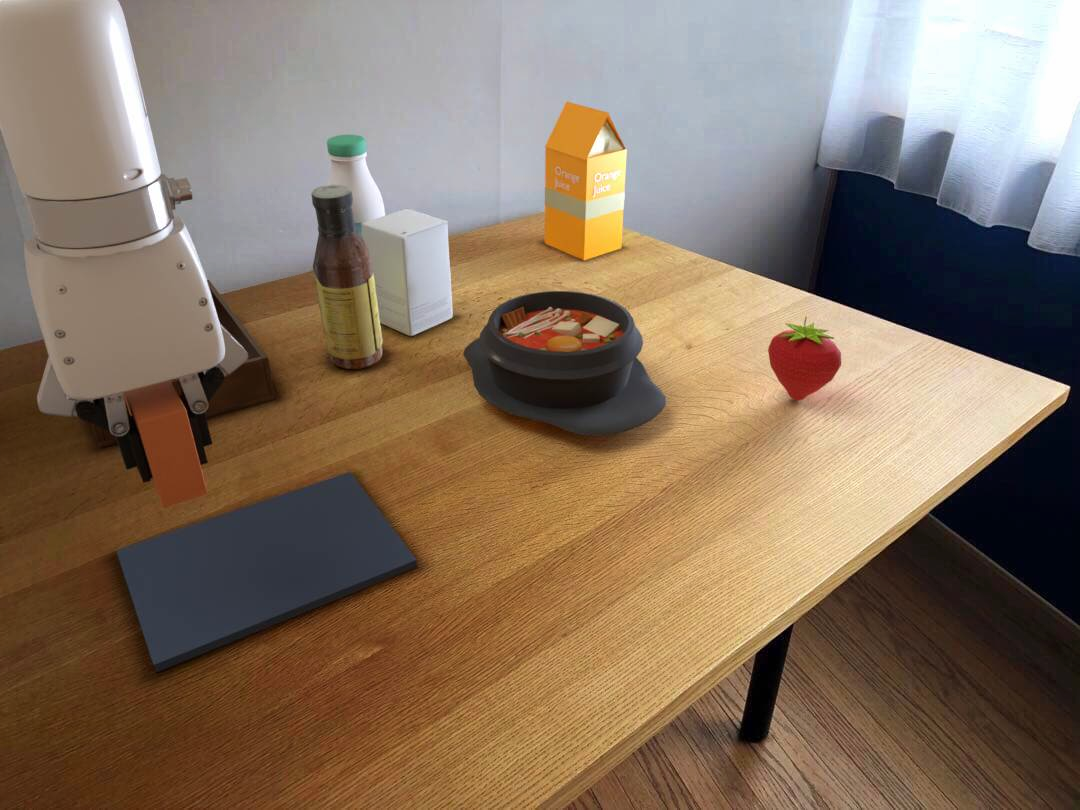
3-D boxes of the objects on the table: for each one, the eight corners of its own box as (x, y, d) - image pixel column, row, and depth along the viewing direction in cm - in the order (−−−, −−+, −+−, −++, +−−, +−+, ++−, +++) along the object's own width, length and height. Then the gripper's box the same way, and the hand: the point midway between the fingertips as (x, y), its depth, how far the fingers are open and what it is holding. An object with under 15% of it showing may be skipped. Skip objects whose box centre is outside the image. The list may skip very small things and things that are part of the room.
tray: (100, 448, 83) (86, 404, 80) (65, 351, 99) (53, 312, 97) (275, 398, 91) (268, 357, 88) (216, 316, 107) (208, 279, 105)
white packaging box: (455, 318, 107) (450, 220, 100) (409, 338, 102) (401, 237, 96) (415, 301, 111) (408, 206, 105) (370, 319, 107) (359, 221, 100)
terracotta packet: (163, 508, 59) (137, 422, 55) (145, 465, 63) (120, 382, 59) (208, 494, 60) (186, 409, 56) (187, 452, 64) (165, 371, 61)
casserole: (425, 369, 96) (419, 301, 92) (555, 325, 106) (556, 260, 101) (565, 476, 79) (567, 398, 75) (705, 411, 89) (714, 339, 84)
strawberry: (818, 424, 87) (836, 336, 82) (750, 399, 91) (763, 314, 86) (841, 400, 91) (860, 315, 86) (775, 377, 95) (789, 294, 90)
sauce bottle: (354, 341, 102) (333, 175, 91) (395, 354, 99) (378, 184, 89) (315, 364, 97) (288, 192, 86) (357, 379, 94) (335, 202, 84)
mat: (156, 673, 60) (153, 665, 59) (118, 557, 70) (115, 549, 69) (417, 567, 69) (416, 559, 68) (351, 478, 79) (350, 471, 78)
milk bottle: (373, 274, 118) (358, 126, 108) (403, 293, 113) (390, 139, 103) (323, 289, 114) (301, 136, 104) (351, 309, 109) (332, 150, 99)
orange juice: (581, 231, 133) (586, 97, 122) (622, 248, 127) (630, 108, 117) (543, 243, 129) (544, 105, 118) (583, 261, 123) (588, 117, 112)
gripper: (223, 173, 58) (269, 407, 67) (-61, 218, 50) (36, 474, 60) (257, 204, 52) (301, 453, 62) (-56, 260, 45) (50, 533, 54)
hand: (170, 461), depth 61 cm, fingers closed on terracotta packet, 3 cm apart
